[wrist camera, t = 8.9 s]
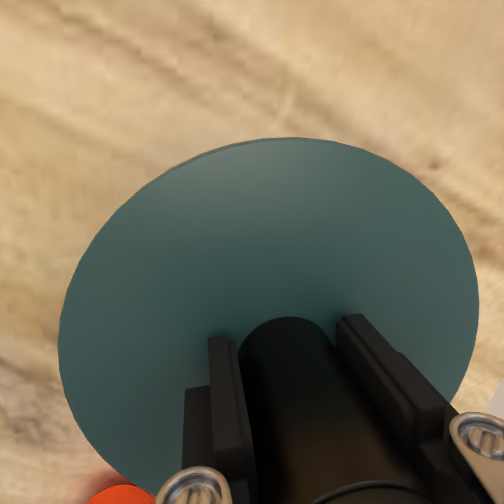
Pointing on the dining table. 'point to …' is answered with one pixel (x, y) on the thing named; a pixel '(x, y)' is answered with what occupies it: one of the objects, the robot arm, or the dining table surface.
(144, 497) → the clementine
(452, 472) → the robot arm
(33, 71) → the dining table surface
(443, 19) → the dining table surface
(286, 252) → the pot lid
